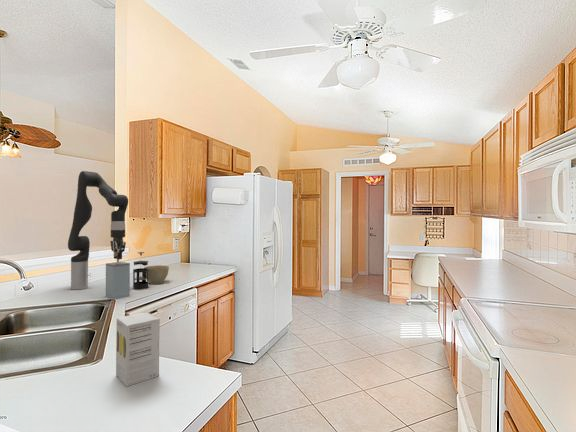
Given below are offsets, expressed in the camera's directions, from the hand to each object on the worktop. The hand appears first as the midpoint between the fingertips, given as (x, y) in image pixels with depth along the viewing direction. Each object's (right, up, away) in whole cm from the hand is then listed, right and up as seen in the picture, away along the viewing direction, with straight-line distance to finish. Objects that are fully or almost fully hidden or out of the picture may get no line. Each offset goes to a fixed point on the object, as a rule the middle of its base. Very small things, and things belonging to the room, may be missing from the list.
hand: (117, 258), depth 187 cm
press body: (0, -22, 0) cm, 22 cm away
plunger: (0, -20, 0) cm, 20 cm away
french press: (+3, -22, +23) cm, 32 cm away
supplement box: (+54, -22, -92) cm, 109 cm away
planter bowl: (+7, -22, +39) cm, 45 cm away
